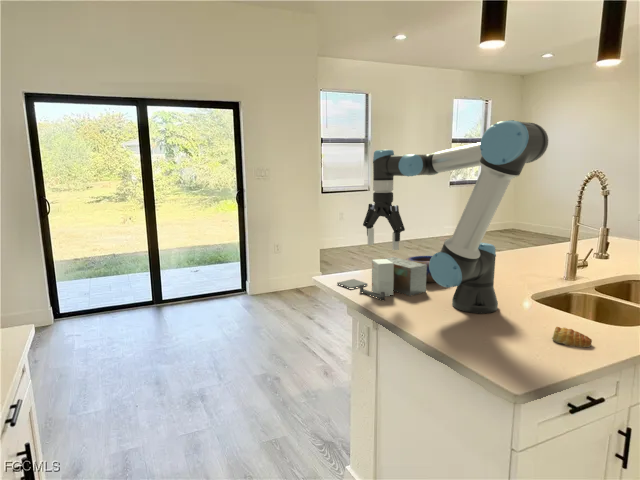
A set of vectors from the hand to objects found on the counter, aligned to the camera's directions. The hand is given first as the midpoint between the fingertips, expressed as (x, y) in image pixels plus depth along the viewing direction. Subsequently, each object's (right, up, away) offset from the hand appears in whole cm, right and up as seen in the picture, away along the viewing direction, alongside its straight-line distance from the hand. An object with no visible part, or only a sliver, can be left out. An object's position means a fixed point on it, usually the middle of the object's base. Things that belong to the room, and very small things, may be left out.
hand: (382, 247), depth 163 cm
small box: (0, -18, +3) cm, 19 cm away
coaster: (-11, -16, +15) cm, 24 cm away
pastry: (+46, -26, -43) cm, 68 cm away
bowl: (+22, -15, +22) cm, 35 cm away
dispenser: (+4, -18, +6) cm, 19 cm away
